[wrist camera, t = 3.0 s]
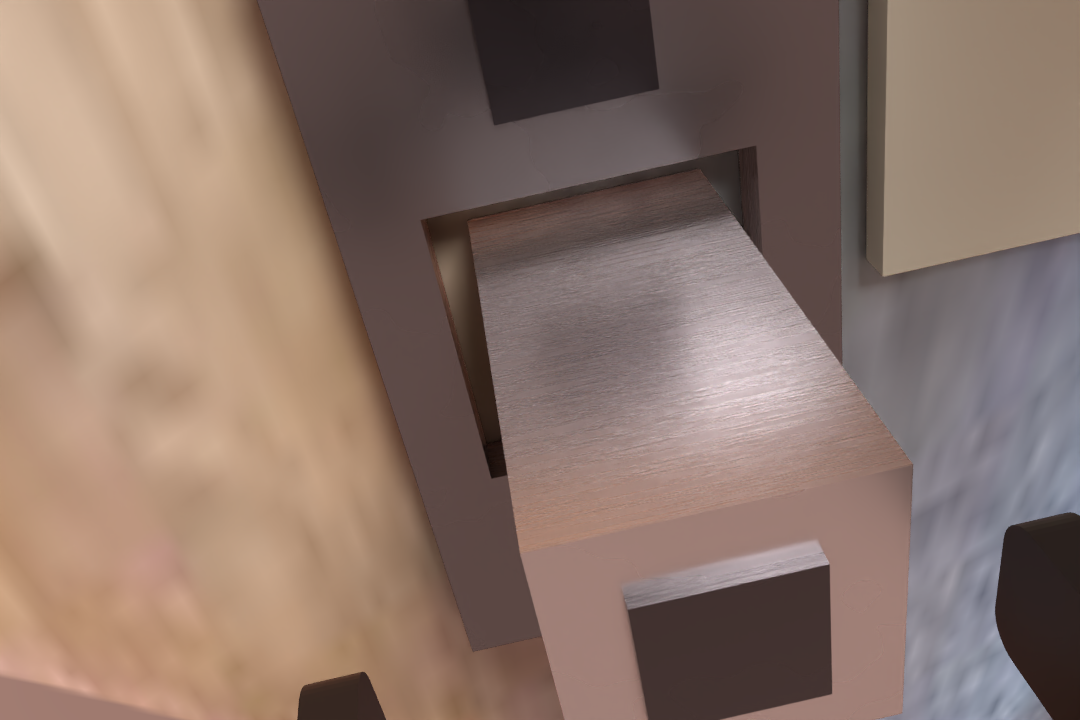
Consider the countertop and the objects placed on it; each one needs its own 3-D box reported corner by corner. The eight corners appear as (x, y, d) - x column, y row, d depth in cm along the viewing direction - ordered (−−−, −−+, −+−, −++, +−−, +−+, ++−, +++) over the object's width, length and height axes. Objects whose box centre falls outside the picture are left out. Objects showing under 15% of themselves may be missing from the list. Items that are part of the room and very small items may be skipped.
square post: (699, 167, 18) (920, 475, 11) (717, 361, 21) (909, 726, 13) (467, 220, 18) (521, 566, 11) (513, 408, 21) (585, 799, 13)
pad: (1279, -203, 16) (1317, -200, 15) (1197, 184, 20) (1225, 200, 19) (869, -112, 16) (889, -106, 15) (866, 258, 20) (883, 277, 19)
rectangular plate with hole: (807, -202, 15) (839, -198, 14) (825, 533, 24) (845, 570, 23) (245, -79, 15) (234, -65, 14) (469, 613, 24) (473, 655, 23)
